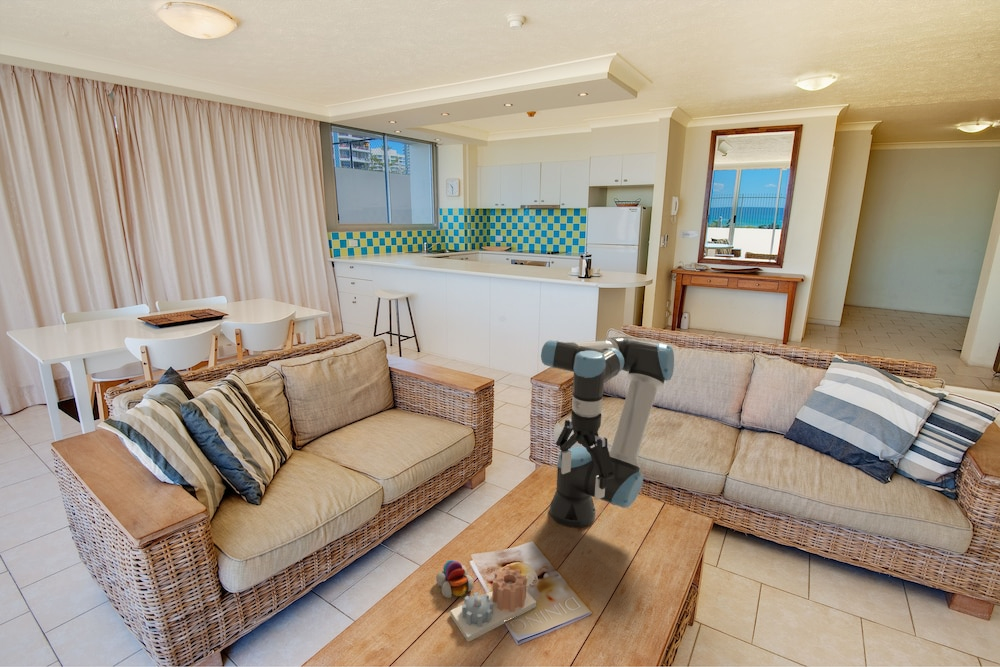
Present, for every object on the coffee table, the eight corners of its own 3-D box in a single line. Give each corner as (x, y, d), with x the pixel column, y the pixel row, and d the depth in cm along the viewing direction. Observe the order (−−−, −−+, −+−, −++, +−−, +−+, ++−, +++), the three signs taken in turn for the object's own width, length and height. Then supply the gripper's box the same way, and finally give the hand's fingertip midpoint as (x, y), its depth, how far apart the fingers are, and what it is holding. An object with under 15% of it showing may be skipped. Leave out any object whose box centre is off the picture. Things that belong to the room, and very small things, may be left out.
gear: (486, 594, 124) (487, 575, 123) (513, 581, 129) (514, 563, 127) (504, 617, 117) (505, 597, 116) (531, 603, 122) (532, 583, 120)
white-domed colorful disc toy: (446, 605, 122) (446, 581, 121) (433, 580, 131) (433, 557, 129) (476, 594, 126) (476, 571, 124) (462, 570, 135) (462, 548, 133)
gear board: (450, 615, 119) (450, 595, 118) (516, 584, 130) (516, 565, 128) (467, 642, 112) (468, 621, 111) (535, 606, 123) (536, 587, 121)
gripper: (545, 397, 130) (542, 466, 135) (610, 435, 109) (603, 514, 115) (567, 392, 133) (563, 459, 139) (633, 427, 113) (626, 504, 119)
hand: (581, 484), depth 127 cm, fingers open, 13 cm apart
